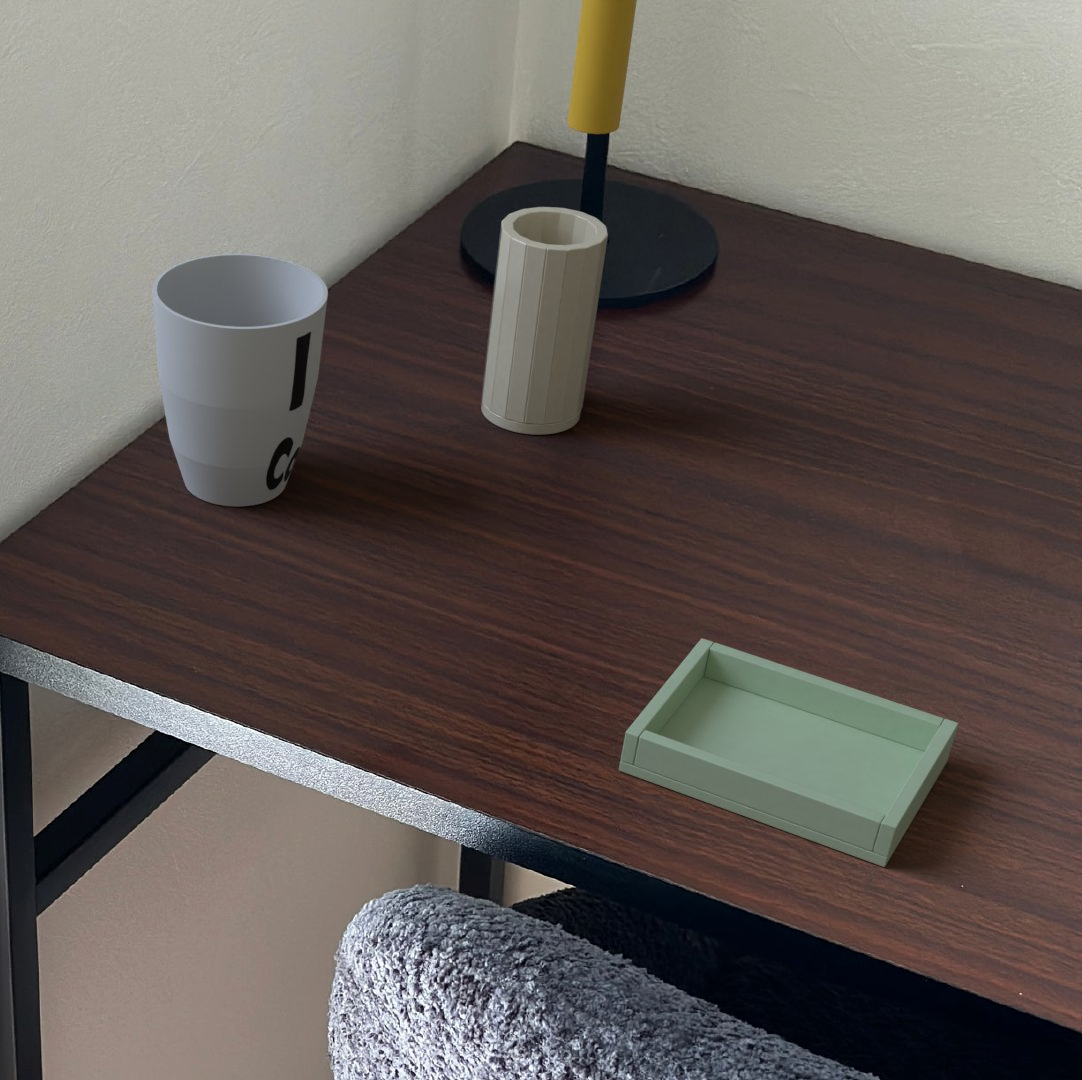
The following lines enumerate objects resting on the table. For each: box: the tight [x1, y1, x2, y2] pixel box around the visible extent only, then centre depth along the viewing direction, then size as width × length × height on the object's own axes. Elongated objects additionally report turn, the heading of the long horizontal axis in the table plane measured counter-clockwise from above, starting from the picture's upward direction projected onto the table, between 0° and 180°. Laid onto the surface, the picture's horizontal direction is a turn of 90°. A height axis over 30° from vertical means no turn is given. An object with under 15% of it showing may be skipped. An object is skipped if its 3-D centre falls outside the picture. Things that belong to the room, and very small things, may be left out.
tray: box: [618, 638, 960, 868], centre depth 85 cm, size 11×8×2 cm
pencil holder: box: [480, 206, 609, 436], centre depth 106 cm, size 5×5×10 cm
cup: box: [152, 253, 329, 507], centre depth 99 cm, size 8×8×10 cm
